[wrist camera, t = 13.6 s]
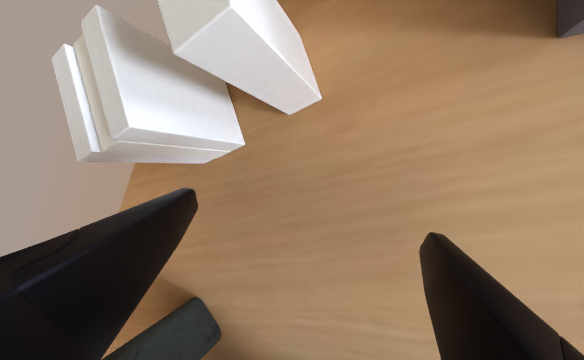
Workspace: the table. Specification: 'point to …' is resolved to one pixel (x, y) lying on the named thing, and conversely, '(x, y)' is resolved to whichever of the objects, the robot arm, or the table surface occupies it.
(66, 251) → the robot arm
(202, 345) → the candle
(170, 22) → the white tall block
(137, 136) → the white books
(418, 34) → the table surface
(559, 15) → the grey books
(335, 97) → the table surface
